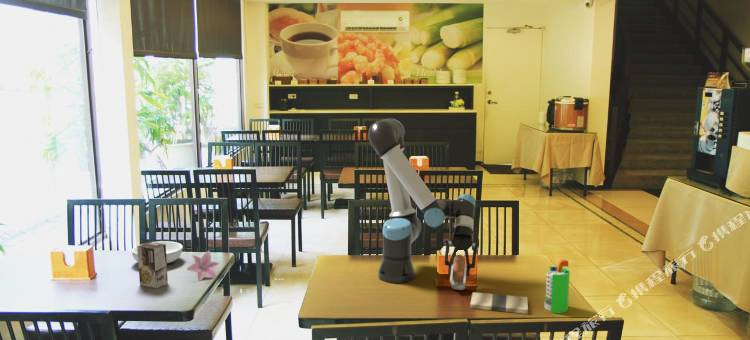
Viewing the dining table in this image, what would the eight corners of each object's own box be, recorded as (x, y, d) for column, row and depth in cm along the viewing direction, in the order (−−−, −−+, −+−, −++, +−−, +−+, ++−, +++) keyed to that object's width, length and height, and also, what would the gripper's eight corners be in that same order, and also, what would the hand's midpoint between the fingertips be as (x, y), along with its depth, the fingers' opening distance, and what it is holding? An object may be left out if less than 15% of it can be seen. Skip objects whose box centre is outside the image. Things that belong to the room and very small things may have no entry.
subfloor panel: (470, 308, 206) (470, 304, 206) (472, 295, 218) (472, 292, 217) (527, 313, 202) (527, 309, 201) (526, 301, 213) (527, 297, 213)
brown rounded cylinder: (450, 289, 222) (452, 256, 219) (452, 284, 227) (453, 252, 224) (464, 290, 221) (466, 257, 218) (465, 285, 226) (467, 253, 223)
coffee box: (168, 283, 228) (166, 244, 225) (156, 288, 222) (154, 248, 219) (151, 279, 231) (149, 241, 229) (138, 285, 226) (136, 245, 223)
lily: (182, 283, 231) (187, 266, 226) (189, 263, 241) (194, 246, 236) (212, 290, 234) (217, 273, 229) (218, 270, 244) (223, 254, 239)
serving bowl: (173, 270, 242) (172, 255, 241) (124, 270, 243) (123, 254, 242) (189, 255, 263) (189, 240, 262) (144, 254, 263) (143, 240, 262)
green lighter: (540, 303, 211) (543, 256, 208) (561, 302, 212) (564, 255, 209) (549, 313, 202) (552, 264, 199) (572, 312, 203) (575, 264, 200)
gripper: (485, 235, 234) (480, 289, 221) (442, 232, 237) (435, 284, 224) (485, 226, 228) (480, 280, 215) (441, 223, 231) (434, 275, 218)
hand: (457, 282), depth 220 cm, fingers closed on brown rounded cylinder, 4 cm apart
